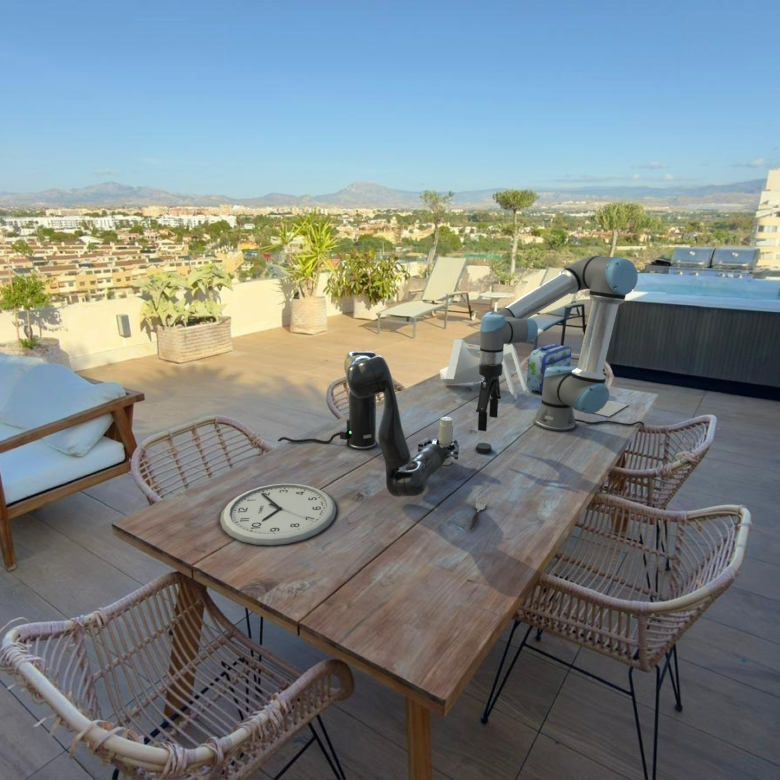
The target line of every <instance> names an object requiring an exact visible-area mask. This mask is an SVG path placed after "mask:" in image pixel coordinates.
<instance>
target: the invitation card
mask: <svg viewBox="0 0 780 780" xmlns="http://www.w3.org/2000/svg"><path fill="white" fill-rule="evenodd" d="M628 406H629V404H627V403H623V402H618V401H614V400H609V399H608V401H607V403H606V404H605V406H604V407H603V408H602V409H600V410H599V411H598V412H595V413H594V414H596V415H600V416H604V417H608V418H609V417H611V416H613V415H614V414H616V413H617V412H619V411H621V410H623V409H624V408H626V407H628Z"/></svg>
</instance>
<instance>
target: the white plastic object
mask: <svg viewBox="0 0 780 780" xmlns="http://www.w3.org/2000/svg"><path fill="white" fill-rule="evenodd" d="M493 312H497V311H496V310H495V311H493ZM478 352H480V344H479V345H473V346H469V345H468V343H466V342H465V340H464V339H463V338H460V339H458V338H454V340H453V344H452V349H451V353H450V357H449V362H448V366H446V367H444V368H442V369H440V370H439V371H438V372H439V376H440V381H442V383H443V384H444V385H445V386H449V385H458V384H467V383H468V384H469V383H473V384H477V383H481V382H483V380H484V376H482V375H480V374H479V364H480V363H481V362H480V361H479V360H480V355H479V354H478ZM510 360H513V363H514V366H515V369H516V372H517V376H518V380H519V382H520V385H521V389H522V391H523V393H524V395H525V396H526V397H528V396H531V395H530V390H529V389H528V387H527V380H526V378H525V375H524V371H523V369H522V368H523V367H522V366H521V362H520V359H519V355H518V352H517V349H516V347H515V346H514V345H513V343H509V344H504V348H503V362H502V365H503V366H502V371H503V373H504V376H505V380H506V383H507V386H508V390H509V393H510V394H511V395H512V397H513V398H514V399H515V400H517V392H516V391H517V390H516V388H515V385H514V381H513V378H512V375H511V371H510V369H509V365H508V361H510Z"/></svg>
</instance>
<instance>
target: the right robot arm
mask: <svg viewBox="0 0 780 780" xmlns="http://www.w3.org/2000/svg"><path fill="white" fill-rule="evenodd" d="M638 278H639V275H638V269H637V267H636V266H635V264H634V262H632V260H631V259H628V258H623V257H619V256H618V257H617V256H601V255H591V256H587V257H584V258H582V259H579V260H577V261H576V262H574V263H572V264H570V265H567V266H566V267H564V268H563V269H561V270H560V271H559V273H558V275H557V276H555V277H553V278H552V279H550V280H548V281H547V282H545V283H543V284H542V285H540V286H539V287H536V288H535V289H534V290H532V291H529V292H528V293H527V294H525V295H524V296H521V297H520V298H518V299H516V300H515V301H513V302H512V303H510V304H508V305H506V306H505V307H503V308H502V309H500V310H498V311H496V312H494V311H488V312H486V313H485V314H484V316H482V317H481V321H480V329H479V332H480V334H479V335H480V337H479V345H480V352H478V354H479V355H480V360H479V361H480V362H481V363H480V364H479V374H480V375H482V376H484V377H483V380H482V381H480V387H479V395H478V400H477V407H476V409H475V412H476V413H478V414H477V415H478V418H477V431H478V432H479V431H480V432H487V429H488V417H489V418H494V419H497V418H498V412H499V400H501V399H502V395H501V386H500V377H501V376H502V374H503V367H502V366H503V365H502V362H503V348H504V344H508V345H510V344H519V343H527V342H528V343H529V342H532V341H534V340H536V338H537V337H538V334H539V326H538V324H537V321H536V320H535V319H534V318H531V317H532V316H535V315H536V314H538V313H539V312H541V311H543V310H545V309H547V307H549V306H551V305H553V304H554V303H556V302H558V301H559V300H561V299H563V298H564V297H566V296H568V295H569V294H570V295H575V294H576V293H578V292H580V291H584V290H589V293H588V296H589V298H590V299H591V304H590V308H589V309H590V310H589V314H588V318H587V322H586V327H585V332H584V335H583V340H582V345H581V349H580V354H579V358H578V362H577V367H574V366H570V367H565V366H556V367H549V368H547V369H546V370H545V374H544V380H543V391H542V393H541V402H540V405H539V407H538V410H537V411H536V413H535V417H534V424H535V425H536V426H537V427H539V428H542V429H544V430H549V431H556V432H567V431H572V430H574V429H575V428H576V422H579V423H583V424H588V425H597V424H605V423H610V424H616V425H621V426H629V427H630V426H631V427H632V426H636V425H638V424H640V425H642V426H645V423H644V422H643V421H640V420H638V421H636V422H633V423H625V422H621V421H615V420H599V421H587V420H584V419H583V420H582V419H577V418H575V417H576V416H575V413H574V409H575V410H577V411H578V412H581V413H585V414H588V415H590V414H591V415H593V414H596V413H595V412H598V411H599V410H600V409H602V408H603V407H604V406H605V404H606V403H607V401H608V400H609V398H610V390H609V387H607V385H606V379H607V378H606V377H607V376H606V375H605V374H604V373H603V371H604V368H605V363H606V359H607V355H608V350H609V347H610V343H611V340H612V339H611V338H612V335H613V331H614V326H615V321H616V317H617V314H618V309H619V305H620V304H621V303H623V302H624V301H625V300H626V296H627V295H629V294H631V293H632V292H633V290H635V288H636V286H637V284H638V280H639V279H638ZM488 407H489V414H488Z"/></svg>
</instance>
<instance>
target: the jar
mask: <svg viewBox="0 0 780 780" xmlns="http://www.w3.org/2000/svg"><path fill="white" fill-rule="evenodd" d="M453 435H454V423H453V418H452V417H450V416H442V417H441V418H440V422H439V430H438V437H439V445H440V446H441V445H442V446H443V445H445V444H450V443H451V442H452V441H453ZM451 453H452V452H451ZM451 464H452V457H449V458H447V459H446V460H445V462H444V463H443V464H442V465H441V466H448V465H451Z"/></svg>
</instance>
